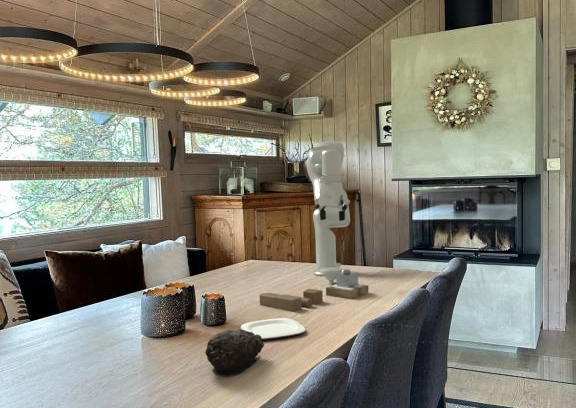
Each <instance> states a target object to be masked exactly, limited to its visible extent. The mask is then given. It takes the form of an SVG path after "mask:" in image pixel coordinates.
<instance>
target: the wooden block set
mask: <svg viewBox="0 0 576 408" xmlns="http://www.w3.org/2000/svg"><path fill="white" fill-rule="evenodd" d="M302 295H303V296H297V295H293V294H284V293H283V294H280V293H279V294H278V293H273V292H263V293H260V294H259V306H265V307H269V308H270V307H271V308H274V309H278V310H284V311H289V312H292V313H293V312H297V311H300V310H302V307H304V308H312V306H315V305H318V304H321V303H323V301H324V298H323V289H322V290H321V289H314V288H313V289H312V288H307V289H305V290H304V291H303V292H302ZM320 302H321V303H320ZM317 303H318V304H317ZM314 304H315V305H314Z"/></svg>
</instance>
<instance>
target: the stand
mask: <svg viewBox="0 0 576 408" xmlns="http://www.w3.org/2000/svg"><path fill="white" fill-rule="evenodd" d="M367 294H369V285H367V284H364V283H358V285H355V286H352V287H349V288H346V287H339V286H337V283H336V284H332V285H329V286H327V287H325V295H326V296H329V297H335V298H336V297H337V298H341V299H342V298H343V299H349V300H353V299H356V298H359V297H362V296H364V295H365V296H366V295H367Z"/></svg>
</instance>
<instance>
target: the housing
mask: <svg viewBox="0 0 576 408" xmlns="http://www.w3.org/2000/svg"><path fill="white" fill-rule="evenodd" d="M336 276H337V279H336V284H337V286H339V287H346V288H349V287H352V286H355V285H358V284H359V271H354V270H353V271H352V270H351V269H349V268H348V269H342V270H341V272H340V273H337V274H336Z"/></svg>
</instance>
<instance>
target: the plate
mask: <svg viewBox="0 0 576 408" xmlns="http://www.w3.org/2000/svg"><path fill="white" fill-rule="evenodd" d="M240 330H246V331H249V332H253V333H254V334H255V335H256V334H258V335H260V336H261V340H275V339H282V338H289V337H291V336H297V335H301V334H303V333H305V332H306V328H305V327H304V326H303V325H302V323H299V322H298V321H297V320H295V319H292V318H287V317H285V318H284V317H283V318H282V317H280V318H279V317H278V318H269V319H263V320H262V319H261V320H255V321H249V322H245V323H243V324H241V326H240Z"/></svg>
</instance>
